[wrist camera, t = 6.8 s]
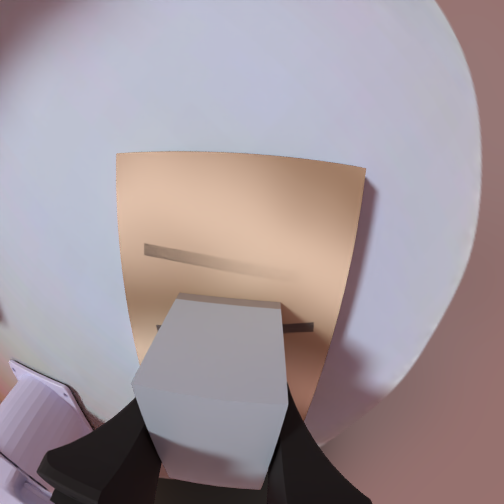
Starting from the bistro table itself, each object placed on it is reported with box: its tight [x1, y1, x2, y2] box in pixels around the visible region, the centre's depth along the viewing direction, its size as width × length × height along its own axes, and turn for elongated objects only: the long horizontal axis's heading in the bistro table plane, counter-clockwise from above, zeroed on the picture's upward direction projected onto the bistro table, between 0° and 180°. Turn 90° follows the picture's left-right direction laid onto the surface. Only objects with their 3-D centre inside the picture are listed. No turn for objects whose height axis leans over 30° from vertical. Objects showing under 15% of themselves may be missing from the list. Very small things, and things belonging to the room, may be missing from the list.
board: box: [116, 151, 366, 421], centre depth 12 cm, size 14×9×1 cm, turn 176°
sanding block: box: [131, 293, 288, 489], centre depth 10 cm, size 7×4×5 cm, turn 176°
